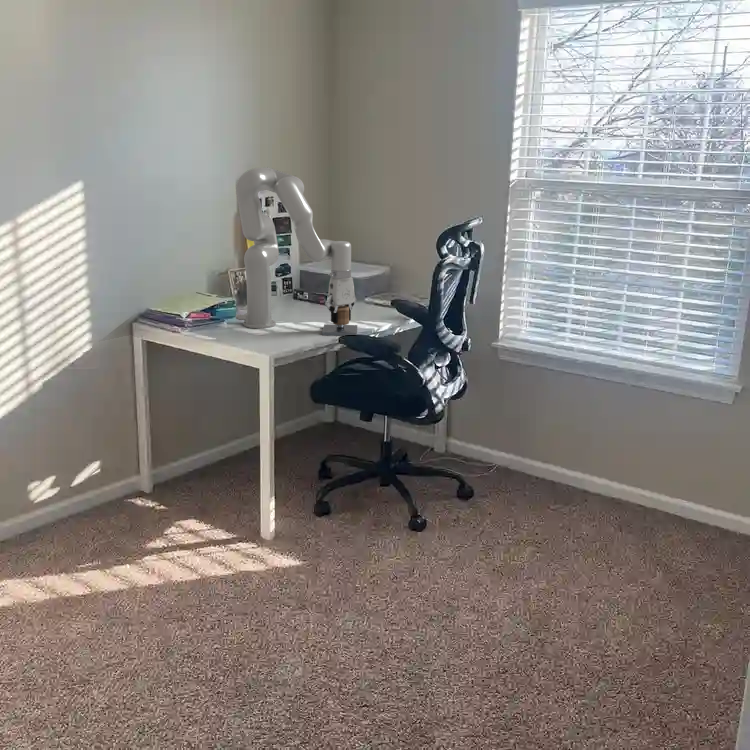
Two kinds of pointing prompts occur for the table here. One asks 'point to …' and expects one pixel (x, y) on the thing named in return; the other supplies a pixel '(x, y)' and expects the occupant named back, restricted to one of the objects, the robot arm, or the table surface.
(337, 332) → the shaft plate
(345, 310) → the wooden cylinder
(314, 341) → the table surface
